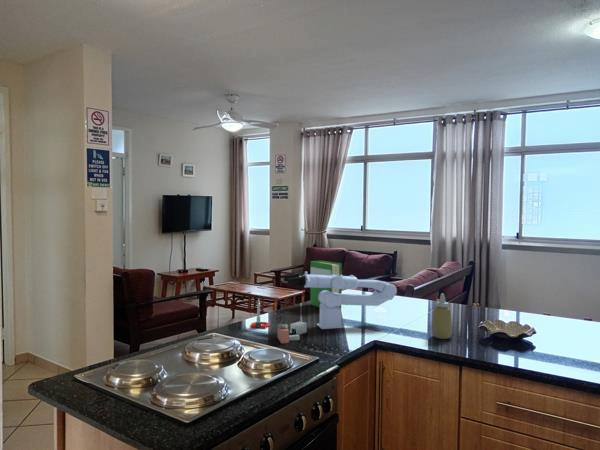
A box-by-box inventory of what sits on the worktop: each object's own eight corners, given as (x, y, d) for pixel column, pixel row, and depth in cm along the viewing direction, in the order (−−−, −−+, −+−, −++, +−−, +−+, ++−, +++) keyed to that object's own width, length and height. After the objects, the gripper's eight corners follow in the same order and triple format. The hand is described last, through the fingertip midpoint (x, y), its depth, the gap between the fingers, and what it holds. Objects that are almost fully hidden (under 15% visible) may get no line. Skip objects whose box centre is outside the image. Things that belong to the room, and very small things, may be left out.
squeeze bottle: (452, 335, 179) (452, 292, 179) (452, 341, 172) (453, 296, 171) (431, 333, 182) (432, 291, 182) (431, 338, 174) (431, 294, 174)
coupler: (296, 336, 177) (296, 321, 176) (301, 342, 169) (301, 327, 169) (276, 337, 175) (276, 323, 174) (280, 343, 167) (280, 328, 167)
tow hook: (253, 323, 198) (248, 328, 189) (254, 295, 199) (249, 298, 189) (271, 324, 197) (267, 329, 188) (272, 296, 197) (267, 299, 188)
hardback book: (341, 308, 229) (341, 263, 229) (330, 310, 225) (331, 264, 224) (320, 302, 243) (321, 260, 243) (310, 304, 239) (310, 261, 239)
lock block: (299, 330, 186) (299, 321, 185) (306, 332, 183) (306, 323, 183) (290, 333, 181) (290, 324, 181) (297, 335, 178) (297, 325, 178)
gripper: (312, 269, 197) (283, 268, 194) (321, 274, 183) (290, 273, 180) (310, 285, 198) (282, 284, 194) (320, 290, 183) (289, 289, 180)
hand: (285, 279), depth 187 cm, fingers open, 7 cm apart
